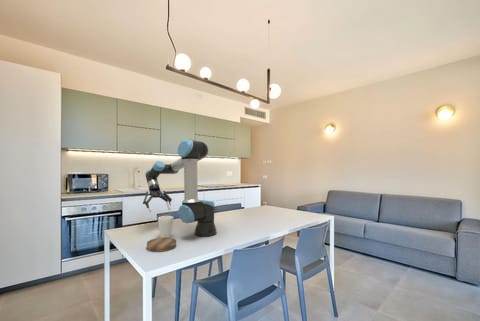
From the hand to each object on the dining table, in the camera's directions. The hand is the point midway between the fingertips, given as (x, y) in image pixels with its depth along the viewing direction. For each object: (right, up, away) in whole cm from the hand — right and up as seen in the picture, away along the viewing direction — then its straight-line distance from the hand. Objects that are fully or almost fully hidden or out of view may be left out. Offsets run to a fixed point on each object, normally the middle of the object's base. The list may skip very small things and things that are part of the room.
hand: (160, 210), depth 156 cm
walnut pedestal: (+11, -15, -28) cm, 33 cm away
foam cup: (+7, -16, -9) cm, 19 cm away
